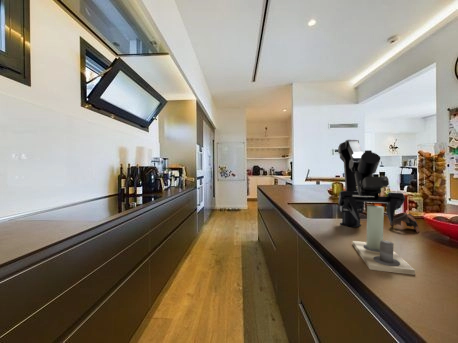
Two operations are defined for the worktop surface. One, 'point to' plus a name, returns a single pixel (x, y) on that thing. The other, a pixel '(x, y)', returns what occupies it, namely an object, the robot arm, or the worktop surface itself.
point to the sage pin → (374, 227)
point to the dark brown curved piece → (405, 220)
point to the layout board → (379, 266)
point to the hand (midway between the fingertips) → (374, 221)
